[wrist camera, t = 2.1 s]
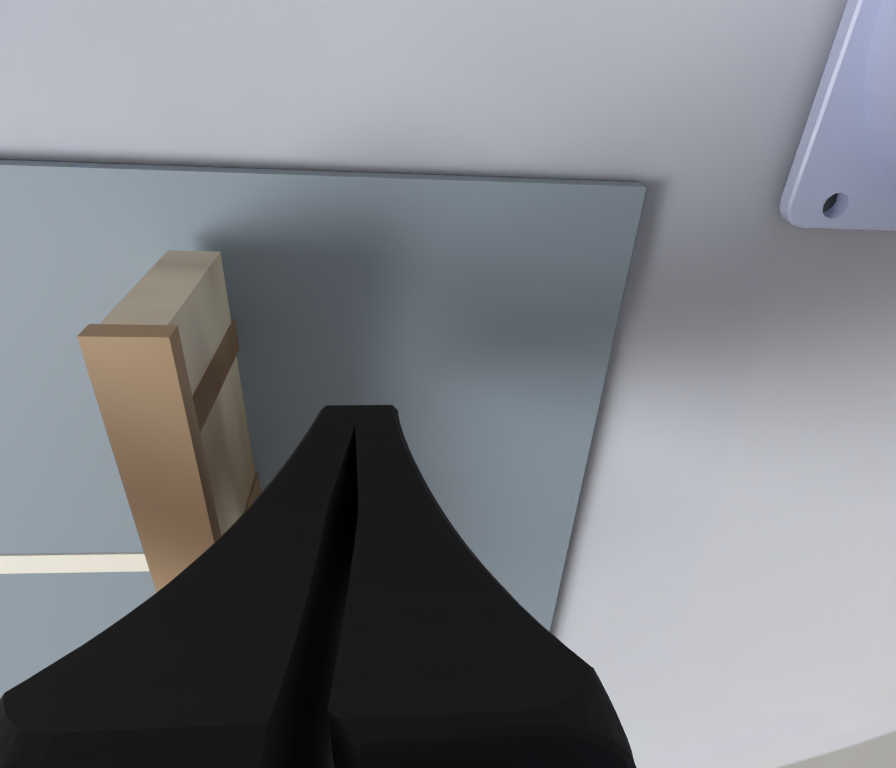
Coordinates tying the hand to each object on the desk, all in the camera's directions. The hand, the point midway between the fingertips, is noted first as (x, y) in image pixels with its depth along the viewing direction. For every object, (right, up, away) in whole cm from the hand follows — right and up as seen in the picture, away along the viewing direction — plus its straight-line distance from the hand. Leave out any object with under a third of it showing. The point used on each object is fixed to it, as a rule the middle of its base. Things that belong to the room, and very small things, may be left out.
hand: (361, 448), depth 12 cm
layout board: (-5, -3, +6) cm, 8 cm away
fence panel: (-4, +1, +3) cm, 4 cm away
